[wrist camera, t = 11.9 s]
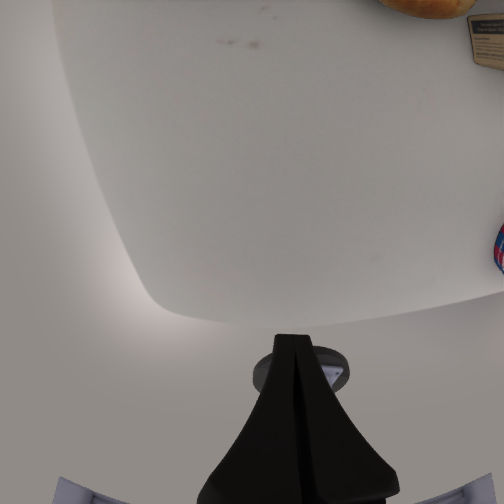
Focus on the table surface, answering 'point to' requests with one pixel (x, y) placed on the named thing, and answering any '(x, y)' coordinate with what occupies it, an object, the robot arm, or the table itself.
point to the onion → (431, 7)
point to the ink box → (488, 39)
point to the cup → (500, 251)
